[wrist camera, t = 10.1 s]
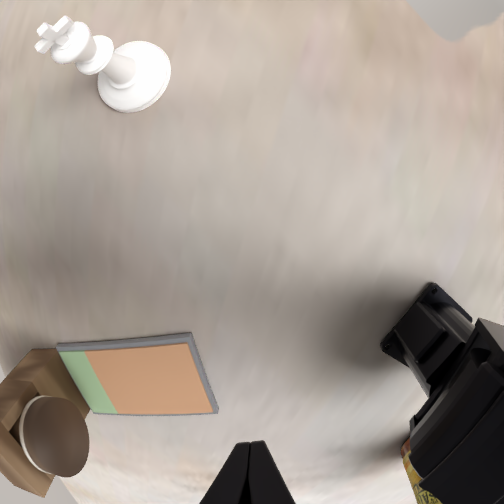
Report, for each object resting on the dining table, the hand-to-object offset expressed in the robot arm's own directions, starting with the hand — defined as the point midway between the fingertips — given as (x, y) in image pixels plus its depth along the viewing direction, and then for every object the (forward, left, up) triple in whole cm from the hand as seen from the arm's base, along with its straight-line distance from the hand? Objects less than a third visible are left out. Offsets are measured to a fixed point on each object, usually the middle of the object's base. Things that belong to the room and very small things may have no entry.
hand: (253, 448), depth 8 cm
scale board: (+3, +13, -13) cm, 19 cm away
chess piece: (+14, -7, -13) cm, 21 cm away
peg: (+9, +19, -9) cm, 23 cm away
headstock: (+9, +19, -13) cm, 25 cm away
